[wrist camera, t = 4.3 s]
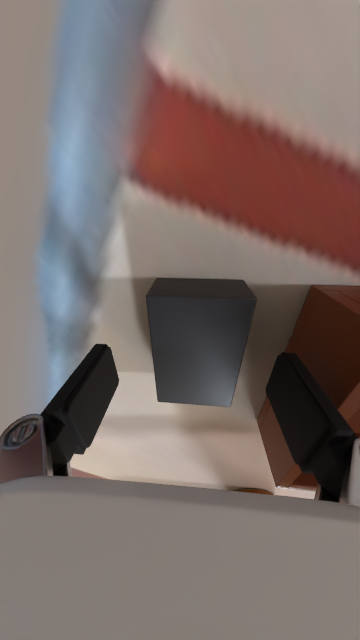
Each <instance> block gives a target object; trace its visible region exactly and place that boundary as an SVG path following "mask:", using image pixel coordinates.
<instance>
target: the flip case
mask: <svg viewBox="0 0 360 640" xmlns="http://www.w3.org/2000/svg"><path fill="white" fill-rule="evenodd" d="M285 352H288V353H296V354H297V356H298V357H299V358H300V360H301V361H302V362H303V364H304V365H305V366H306V368H307V369H308V370H309V372H310V373H311V375H312V376H313V377H314V379H315V380H316V381H317V383H318V384H319V385H320V387H321V388H322V389H323V391H324V392H325V393H326V395H327V396H328V397H329V399H330V400H331V401H332V403H333V404H334V406H335V407H336V408H337V410H338V411H339V412H340V414H341V415H342V416H343V418H344V419H345V420H346V422H347V423H348V424H349V426H350V427H351V428H352V430H353V431H354V433H355V435H356V436H357V437H358V438H360V286H326V285H312V286H311V289H310V291H309V294H308V296H307V299H306V301H305V304H304V306H303V308H302V311H301V313H300V316H299V318H298V321H297V323H296V326H295V328H294V331H293V333H292V336H291V338H290V341H289V343H288V346H287V348H286V350H285ZM257 423H258V427H259V429H260V434H261V437H262V440H263V444H264V447H265V451H266V454H267V458H268V461H269V465H270V468H271V472H272V475H273V479H274V482H275V485H276V487H277V488H285V489H287V488H288V489H296V490H306V491H315V492H316V489H317V485H318V482H317V480H316V478H315V476H314V474H305V473H302V472H301V470H300V467H299V465H296V464H295V462H294V460H293V458H292V456H291V453H290V451H289V448H288V446H287V443H286V441H285V438H284V436H283V433H282V431H281V429H280V426H279V424H278V421H277V419H276V416H275V414H274V411H273V409H272V406H271V404H270V401H269V399H268V397H266V400H265V402H264V405H263V407H262V410H261V412H260V415H259V417H258V420H257Z"/></svg>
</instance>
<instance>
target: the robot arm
mask: <svg viewBox="0 0 360 640" xmlns="http://www.w3.org/2000/svg"><path fill="white" fill-rule="evenodd" d="M118 383H119V378H118V374H117V370H116V367H115V363H114V359H113V355H112V351H111V348H110V347H108V345H106V344H95V345H94V347H93V348H92V349H91V350H90V352H89V353H88V354H87V356H86V357H85V358H84V359H83V361H82V362H81V363H80V365H79V366H78V367H77V368H76V370H75V371H74V372H73V373H72V375H71V376H70V377H69V378H68V380H67V381H66V382H65V384H64V385H63V386H62V387H61V389H60V390H59V391H58V393H57V394H56V395H55V396H54V398H53V399H52V400H51V402H50V403H49V404H48V405H47V407H46V408H45V409H44V411H43V412H42V413H41V414H40V415H39V414H30V415H26V416H24V417H22V418H20V419H18V420H16V421H15V422H13V423H12V424H11V425H10V426H9V427H8V428H7V429H6V430H5V431H4V432H3V434H2V435H1V437H0V640H360V438H358V437H357V436H356V435H355V433H354V431H353V430H352V428H351V427H350V426H349V424H348V423H347V422H346V420H345V419H344V418H343V416H342V415H341V414H340V412H339V411H338V410H337V408H336V407H335V406H334V404H333V403H332V401H331V400H330V399H329V397H328V396H327V395H326V393H325V392H324V391H323V389H322V388H321V387H320V385H319V384H318V383H317V381H316V380H315V379H314V377H313V376H312V375H311V373H310V372H309V370H308V369H307V368H306V366H305V365H304V364H303V362H302V361H301V360H300V358H299V357H298V356H297V354H296V353H288V352H282V353H281V355H278V357H277V359H276V362H275V365H274V367H273V370H272V373H271V375H270V378H269V381H268V384H267V386H266V394H267V397H268V399H269V401H270V404H271V406H272V409H273V411H274V414H275V416H276V419H277V421H278V424H279V426H280V429H281V431H282V433H283V436H284V438H285V441H286V443H287V446H288V448H289V451H290V453H291V456H292V458H293V460H294V462H295V464H296V465H299V467H300V470H301V472H302V473H305V474H314V476H315V478H316V480H317V482H318V485H317V489H316V494H315V498H314V500H313V499H305V498H297V497H288V496H278V495H268V494H258V493H248V492H238V491H228V490H217V489H207V488H196V487H185V486H175V485H164V484H153V483H142V482H131V481H120V480H108V479H97V478H83V477H82V478H81V477H72V474H71V467H70V460H71V458H72V456H73V454H84V452H85V450H86V448H88V447H89V446H90V445H91V443H92V441H93V439H94V437H95V435H96V432H97V430H98V428H99V426H100V424H101V421H102V419H103V417H104V415H105V413H106V410H107V408H108V406H109V404H110V402H111V399H112V397H113V395H114V393H115V391H116V388H117V386H118Z"/></svg>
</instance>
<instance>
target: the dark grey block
mask: <svg viewBox="0 0 360 640" xmlns="http://www.w3.org/2000/svg"><path fill="white" fill-rule="evenodd" d="M146 301H147V310H148V319H149V328H150V337H151V346H152V355H153V364H154V372H155V381H156V390H157V399H158V402H169V403H182V404H195V405H209V406H222V407H231V403H232V399H233V395H234V391H235V386H236V382H237V378H238V374H239V370H240V366H241V362H242V358H243V354H244V350H245V346H246V342H247V338H248V334H249V329H250V325H251V321H252V317H253V313H254V309H255V305H256V301H257V298H256V297H255V296H254V294H253V293H252V291H251V290H250V288H249V287H248V286H247V284H246V283H245V281H244V280H219V279H176V278H157V279H156V280H155V282H154V284H153V285H152V287H151V288H150V290H149V292H148V293H147V295H146Z"/></svg>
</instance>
